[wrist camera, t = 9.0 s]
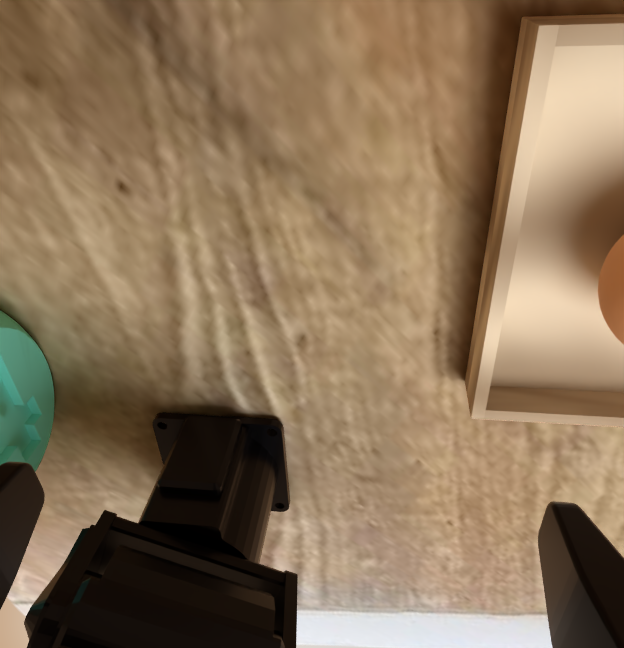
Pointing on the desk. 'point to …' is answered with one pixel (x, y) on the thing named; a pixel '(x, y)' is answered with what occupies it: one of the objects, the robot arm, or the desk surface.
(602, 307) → the ball
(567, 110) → the tray
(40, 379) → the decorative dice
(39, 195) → the desk surface
